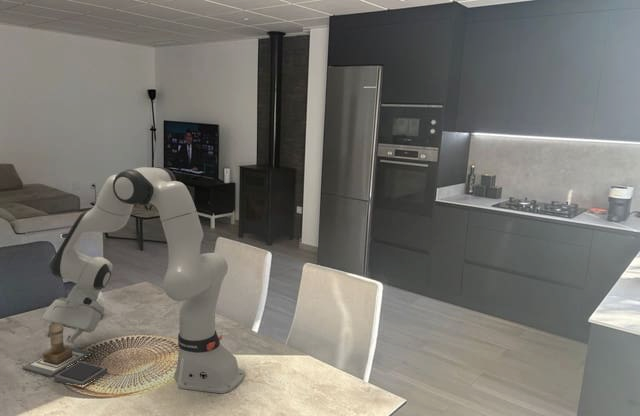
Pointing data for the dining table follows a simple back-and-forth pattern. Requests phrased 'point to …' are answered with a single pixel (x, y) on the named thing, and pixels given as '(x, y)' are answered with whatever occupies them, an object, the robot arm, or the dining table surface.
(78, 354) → the document board
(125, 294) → the dining table surface
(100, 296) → the geodesic sphere
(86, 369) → the ink pad
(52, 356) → the hand stamp
